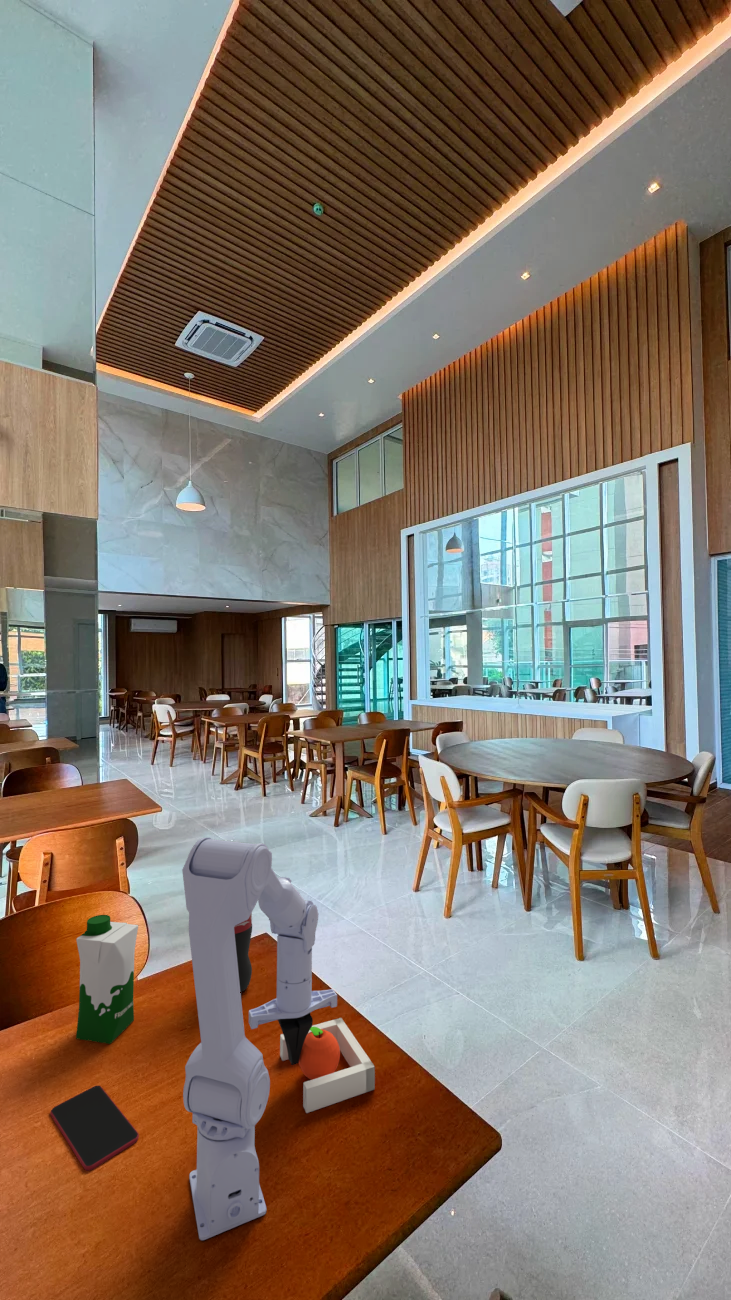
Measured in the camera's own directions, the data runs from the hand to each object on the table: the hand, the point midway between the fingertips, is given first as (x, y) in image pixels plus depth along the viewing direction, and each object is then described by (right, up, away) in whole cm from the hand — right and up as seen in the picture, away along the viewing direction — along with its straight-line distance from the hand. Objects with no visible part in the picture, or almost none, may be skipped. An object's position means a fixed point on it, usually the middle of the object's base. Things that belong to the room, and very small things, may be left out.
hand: (293, 1060), depth 89 cm
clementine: (+4, -4, +2) cm, 6 cm away
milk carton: (-37, -4, +13) cm, 39 cm away
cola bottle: (-17, -5, +27) cm, 32 cm away
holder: (+5, -4, +2) cm, 7 cm away
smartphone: (-28, -3, -9) cm, 30 cm away
